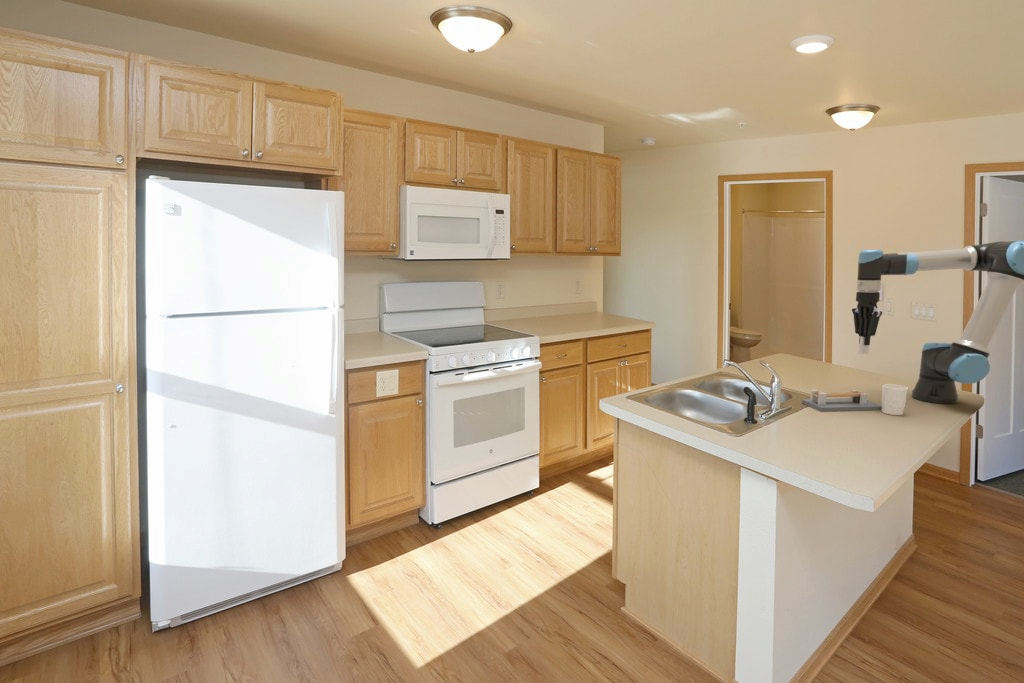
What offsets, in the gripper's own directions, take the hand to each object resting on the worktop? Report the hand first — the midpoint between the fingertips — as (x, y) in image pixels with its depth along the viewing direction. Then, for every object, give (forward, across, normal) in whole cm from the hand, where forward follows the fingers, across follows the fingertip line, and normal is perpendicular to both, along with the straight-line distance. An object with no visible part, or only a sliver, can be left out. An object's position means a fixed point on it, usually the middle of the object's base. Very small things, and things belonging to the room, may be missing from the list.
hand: (863, 353), depth 220 cm
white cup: (+21, +12, +4) cm, 24 cm away
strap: (+16, +2, -10) cm, 19 cm away
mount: (+20, +2, -9) cm, 22 cm away
